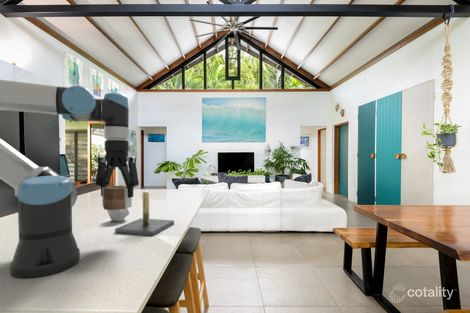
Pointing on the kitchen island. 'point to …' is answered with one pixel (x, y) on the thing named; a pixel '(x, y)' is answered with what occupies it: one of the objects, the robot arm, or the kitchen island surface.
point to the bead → (114, 197)
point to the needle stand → (145, 222)
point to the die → (118, 214)
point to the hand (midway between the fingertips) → (117, 206)
